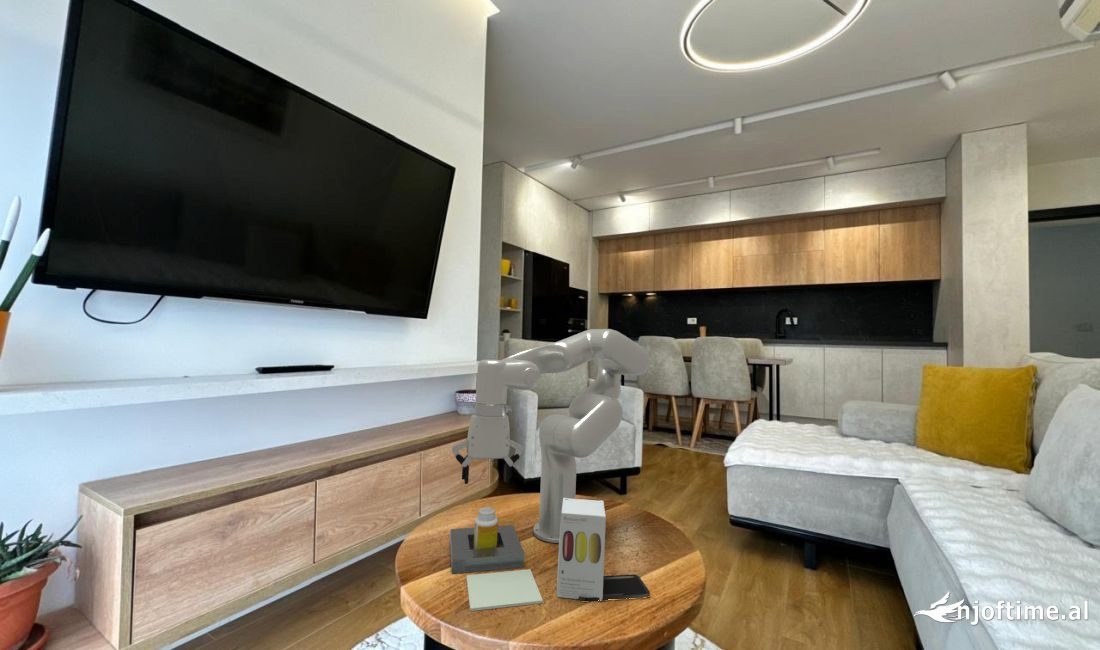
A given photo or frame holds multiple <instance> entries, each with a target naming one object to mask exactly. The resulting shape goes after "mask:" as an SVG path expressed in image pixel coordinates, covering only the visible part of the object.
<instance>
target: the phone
mask: <svg viewBox="0 0 1100 650" xmlns="http://www.w3.org/2000/svg"><path fill="white" fill-rule="evenodd" d="M649 595H651V592H650V591H649V589H648V587H647V585H646V584H645V583H644V581H643V580H642V578H641V577H640V576H639V575H637V574H617V575H603V599H602V600H608V599H626V598H627V599H629V598H643V597H648V596H649ZM579 600H580V602H581V601H589V602H588V603H591V602H590V601H598V600H599V598H597V597H592V598H587V597H581V596H579ZM579 600H578V601H579ZM598 602H601V601H600V600H599V601H598Z"/></svg>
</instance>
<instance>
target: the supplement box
mask: <svg viewBox="0 0 1100 650" xmlns="http://www.w3.org/2000/svg"><path fill="white" fill-rule="evenodd" d="M606 520H607V517H606V511H605V502H604V500H602V499H601V500H595V499H593V500H592V499H582V498H575V499H570V498H563V504H562V512H561V522H560V536H559V543H558V556H557V558H558V559H557V575H556V577H557V578H556V579H557V580H556V597H557V598H562V599H563V598H565V599H574V600H578V599H579V596H581V597H587V598H592V597H597V598H599V600H602V599H603V576H605V575H604V573H605V572H604V571H605V548H606V545H605V544H606V525H607V524H606V523H607V521H606Z"/></svg>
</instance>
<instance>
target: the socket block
mask: <svg viewBox="0 0 1100 650" xmlns="http://www.w3.org/2000/svg"><path fill="white" fill-rule="evenodd" d="M449 533H450V534H449V535H450V536H449V548H450V567H451V574H452V575H456V574H457V575H458V574H468V573H477V572H488V571H498V570H499V571H500V570H510V569H512V570H513V569H521V568H522V569H523V568H525V551H524V549H523V545H522V544H521V542H520V539H519V537H518V534H517V532H516V529H515V527H514V525H513V524H508V525H506V524H505V525H498V530H497V546H499V547H497V548H487V549H474V527H463V528H450V532H449ZM470 548H473V549H470Z"/></svg>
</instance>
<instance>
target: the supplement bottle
mask: <svg viewBox="0 0 1100 650" xmlns="http://www.w3.org/2000/svg"><path fill="white" fill-rule="evenodd" d="M477 515H478V516H476V518H475V520H474V527H473V528H474V547H473V550H474V549H487V548H498V545H497V530H498V526H499V525H498V524H499V521H498V517H497V516H496V509H494V508H493V507H489V506H487V507H485V506H484V507H482V508H479V510H478V513H477Z"/></svg>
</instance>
